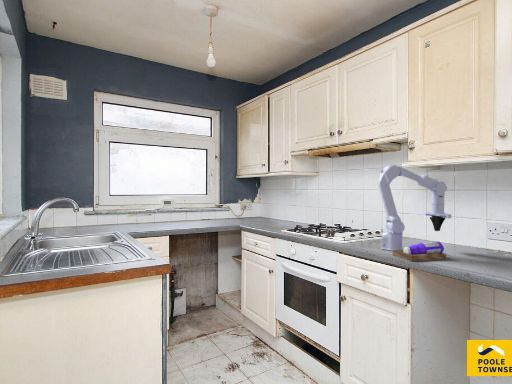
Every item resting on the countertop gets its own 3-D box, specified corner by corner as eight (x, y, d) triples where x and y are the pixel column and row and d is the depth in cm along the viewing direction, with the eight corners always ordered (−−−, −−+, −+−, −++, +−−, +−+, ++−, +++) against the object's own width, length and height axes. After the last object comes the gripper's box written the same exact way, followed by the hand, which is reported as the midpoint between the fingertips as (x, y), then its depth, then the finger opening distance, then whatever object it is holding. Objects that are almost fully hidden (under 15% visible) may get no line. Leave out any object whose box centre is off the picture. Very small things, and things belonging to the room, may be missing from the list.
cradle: (425, 253, 150) (425, 248, 150) (446, 259, 138) (446, 253, 138) (392, 255, 145) (392, 250, 145) (411, 261, 133) (411, 255, 133)
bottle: (440, 238, 141) (405, 242, 139) (446, 249, 137) (411, 252, 135) (433, 247, 146) (399, 251, 144) (439, 257, 143) (405, 261, 140)
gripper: (456, 205, 149) (455, 232, 150) (432, 203, 163) (432, 228, 164) (445, 205, 148) (444, 233, 148) (421, 203, 162) (421, 228, 162)
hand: (437, 230), depth 156 cm, fingers closed
